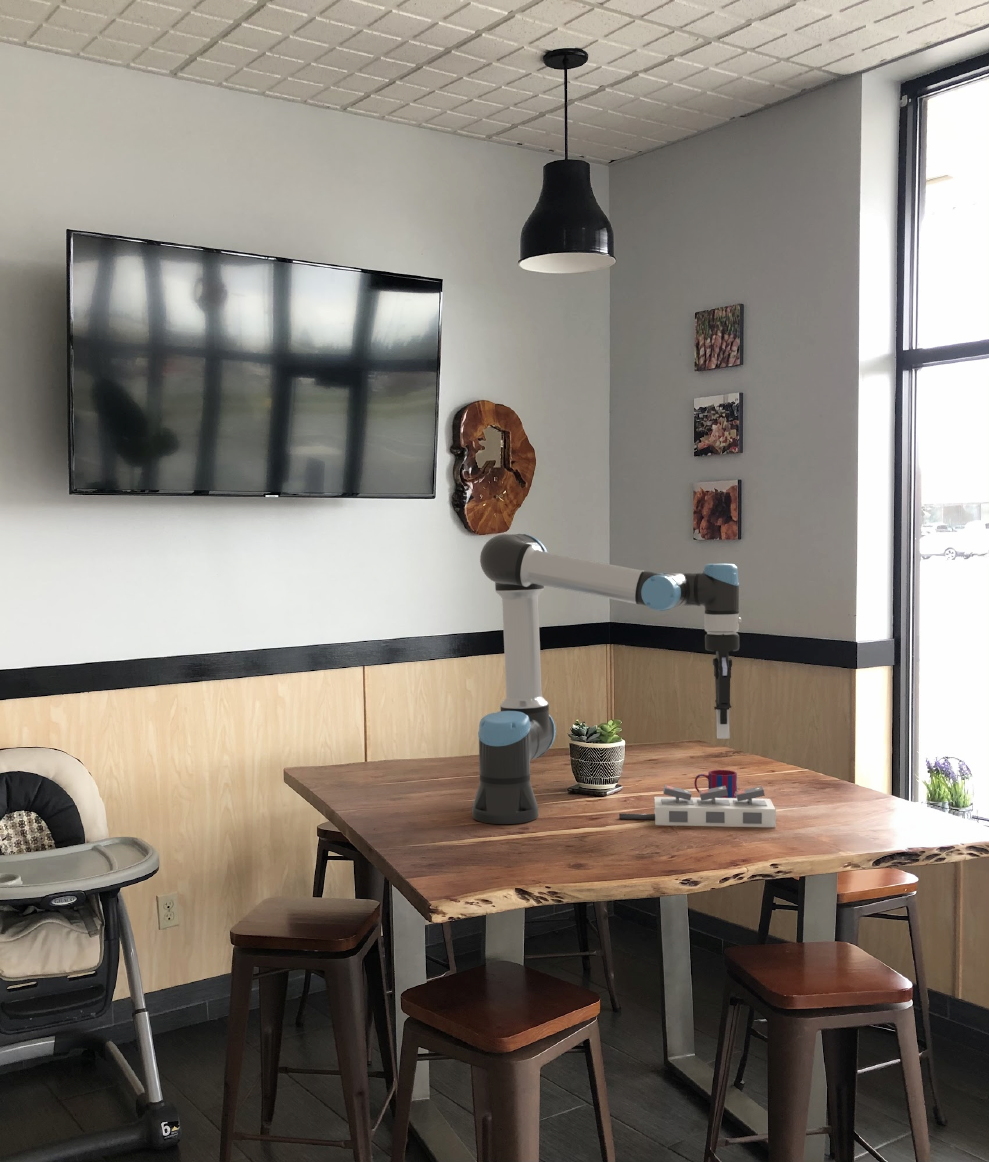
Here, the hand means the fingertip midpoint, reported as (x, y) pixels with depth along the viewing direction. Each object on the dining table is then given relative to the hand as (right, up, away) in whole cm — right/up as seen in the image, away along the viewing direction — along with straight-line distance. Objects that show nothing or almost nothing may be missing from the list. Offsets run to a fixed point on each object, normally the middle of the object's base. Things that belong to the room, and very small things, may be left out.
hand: (723, 737), depth 251 cm
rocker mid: (-2, -12, 0) cm, 13 cm away
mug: (+2, -18, +20) cm, 27 cm away
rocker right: (+6, -12, 0) cm, 14 cm away
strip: (-6, -19, +1) cm, 20 cm away
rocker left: (-10, -13, +1) cm, 16 cm away
